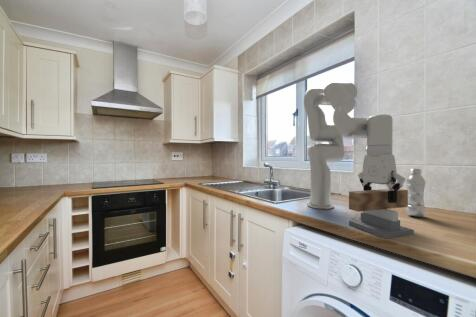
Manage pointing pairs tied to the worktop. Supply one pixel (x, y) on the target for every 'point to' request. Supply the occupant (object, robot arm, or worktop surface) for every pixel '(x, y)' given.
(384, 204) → the brown wooden block
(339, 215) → the worktop surface
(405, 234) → the ridge stand
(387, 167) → the robot arm
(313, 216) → the worktop surface
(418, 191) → the plastic bottle
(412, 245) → the worktop surface
